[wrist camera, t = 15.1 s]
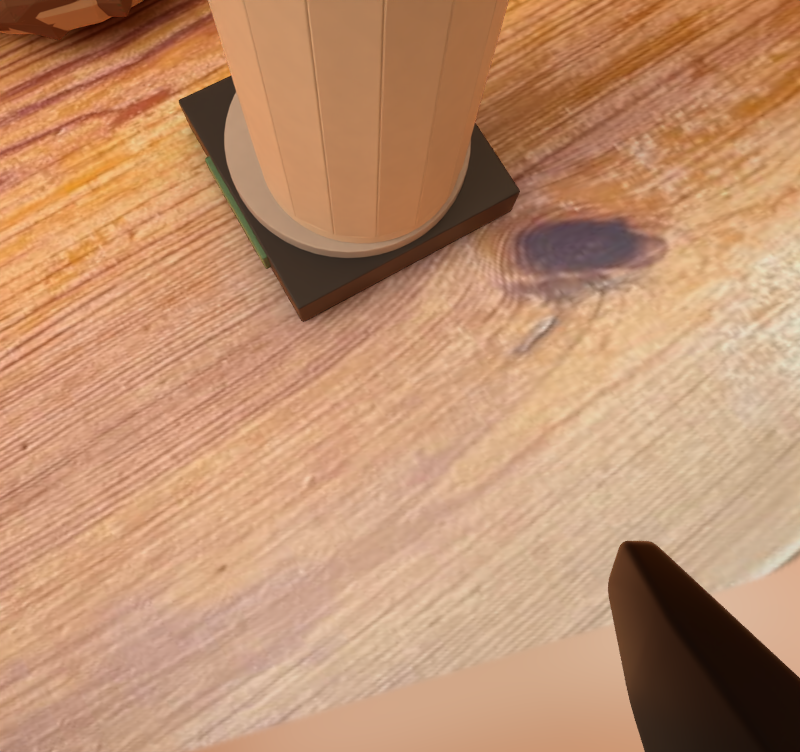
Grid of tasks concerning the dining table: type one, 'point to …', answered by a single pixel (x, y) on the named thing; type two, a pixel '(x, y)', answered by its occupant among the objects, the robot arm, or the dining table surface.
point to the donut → (58, 15)
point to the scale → (314, 254)
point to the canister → (360, 104)
